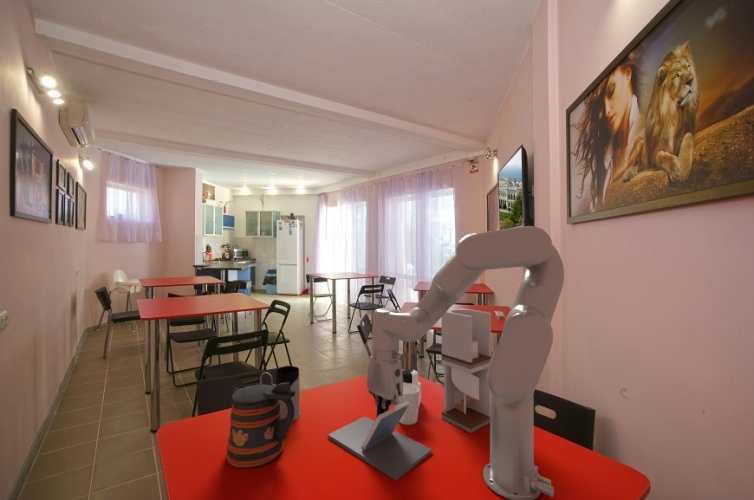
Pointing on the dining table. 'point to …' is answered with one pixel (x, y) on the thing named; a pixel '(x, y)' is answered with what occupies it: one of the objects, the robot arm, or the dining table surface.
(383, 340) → the robot arm
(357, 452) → the base
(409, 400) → the white cup
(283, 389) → the beer stein
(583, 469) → the dining table surface
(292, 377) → the glass holder
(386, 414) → the tile
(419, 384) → the medicine bottle
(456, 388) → the white tiered shelf stand
